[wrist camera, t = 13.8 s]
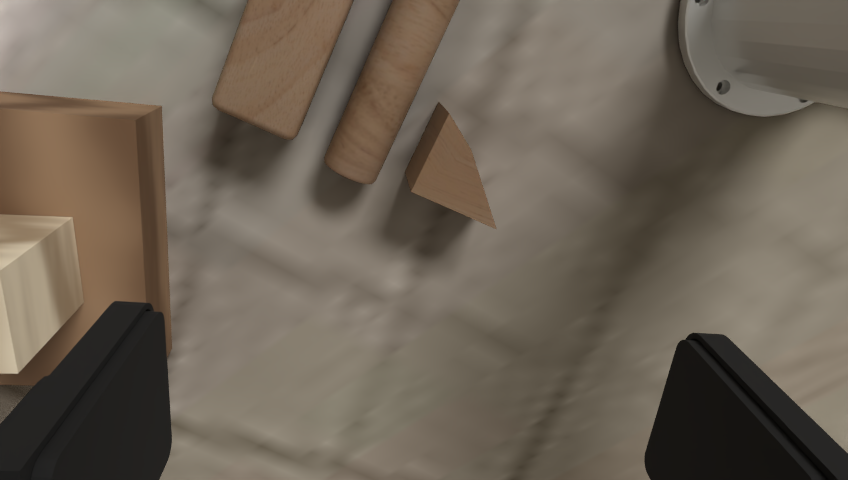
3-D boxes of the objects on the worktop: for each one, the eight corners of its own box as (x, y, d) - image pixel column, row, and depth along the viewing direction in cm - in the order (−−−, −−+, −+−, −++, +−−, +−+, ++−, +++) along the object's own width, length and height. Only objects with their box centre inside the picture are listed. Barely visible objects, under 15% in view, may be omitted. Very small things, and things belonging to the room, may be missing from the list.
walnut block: (163, 104, 35) (135, 120, 30) (173, 344, 41) (151, 388, 36) (-65, 84, 33) (-132, 97, 29) (-22, 337, 39) (-72, 382, 34)
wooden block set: (197, 126, 30) (339, -267, 25) (220, 108, 35) (342, -219, 30) (490, 251, 34) (663, -64, 29) (472, 219, 40) (616, -53, 35)
